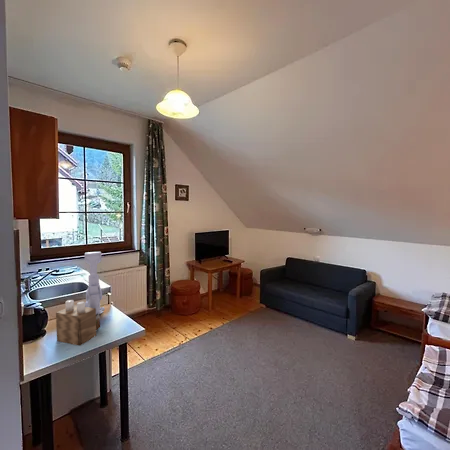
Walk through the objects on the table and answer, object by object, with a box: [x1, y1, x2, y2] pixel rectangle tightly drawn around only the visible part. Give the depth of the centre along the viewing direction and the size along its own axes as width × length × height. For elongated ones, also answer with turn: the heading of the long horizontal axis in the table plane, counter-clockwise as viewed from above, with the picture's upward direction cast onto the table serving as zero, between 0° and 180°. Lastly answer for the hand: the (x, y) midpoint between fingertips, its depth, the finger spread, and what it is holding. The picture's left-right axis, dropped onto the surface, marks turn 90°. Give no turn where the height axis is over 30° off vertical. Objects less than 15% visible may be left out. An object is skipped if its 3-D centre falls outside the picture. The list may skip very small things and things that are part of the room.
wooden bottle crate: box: [55, 304, 97, 347], centre depth 150 cm, size 16×12×16 cm
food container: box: [96, 314, 101, 331], centre depth 159 cm, size 12×6×10 cm, turn 74°
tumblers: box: [65, 299, 86, 313], centre depth 149 cm, size 12×4×5 cm, turn 73°
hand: (95, 326), depth 163 cm, fingers closed, pressing on food container
